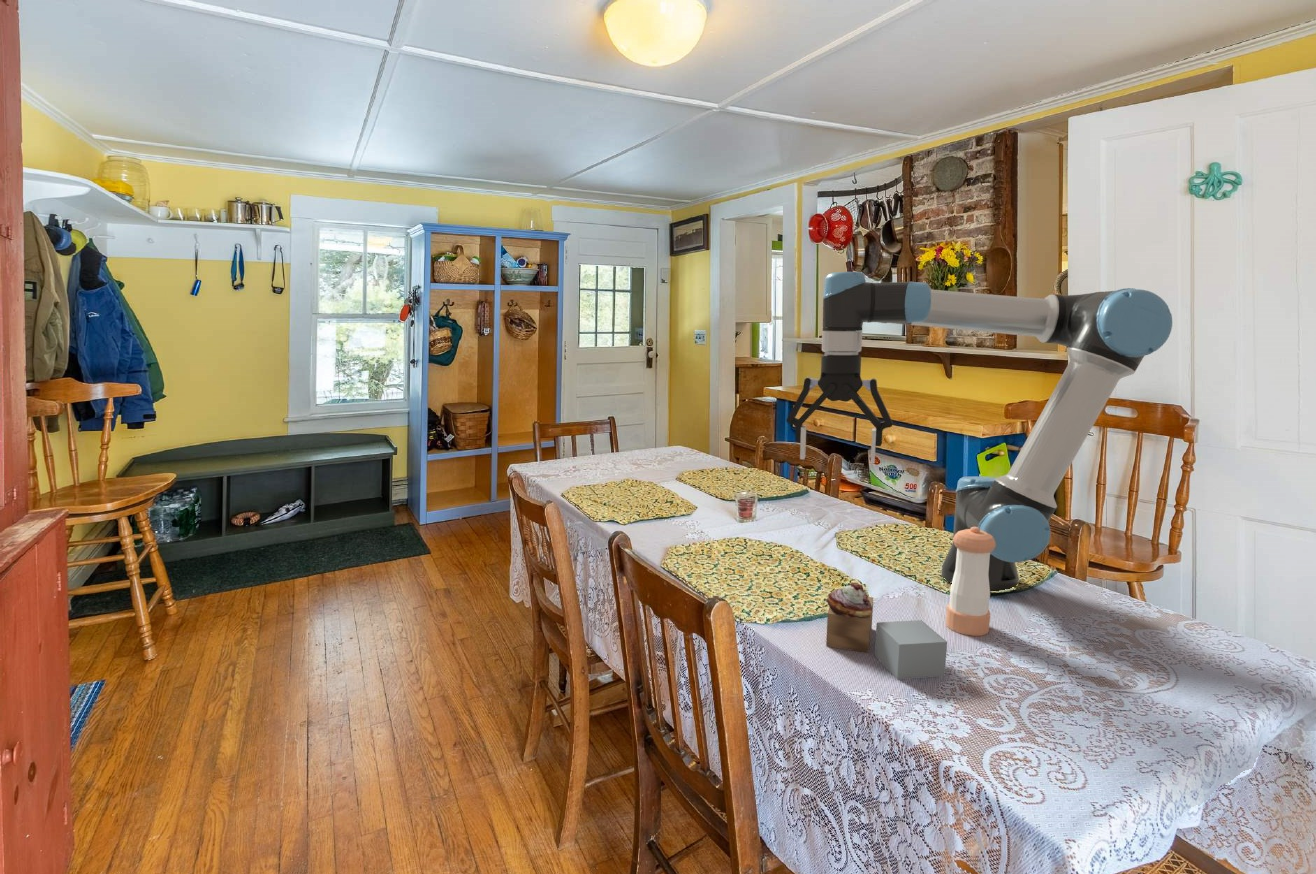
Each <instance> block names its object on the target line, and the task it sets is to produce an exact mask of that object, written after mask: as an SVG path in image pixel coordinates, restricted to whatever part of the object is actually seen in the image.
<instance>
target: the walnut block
mask: <svg viewBox="0 0 1316 874" xmlns="http://www.w3.org/2000/svg"><path fill="white" fill-rule="evenodd" d="M868 600H869V601H870V604H871V606H872V609H873V610H874V597H872V596H869V597H868ZM873 610H872V613H871V615H869V616H868V617H864V618H853V617H846V616H841V615H840V614H838V613H836V612H835V611H833V610H832V609H831V608H830V607H828V611H827V622H826V641H825V644H826V645H825V646H826V647H830V648H831V647H832V648H835V649H836V648H837V649H844V650H848V651H855V652H856V651H857V652H862V653H867V654H868V653H869V649H870V643H871V642H870V641H871V635H872V629H873V626H872V625H873V612H874V611H873Z"/></svg>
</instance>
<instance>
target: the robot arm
mask: <svg viewBox="0 0 1316 874" xmlns="http://www.w3.org/2000/svg"><path fill="white" fill-rule="evenodd" d="M865 276H866V275H865V274H864V272H862V271H838V272H835V271H834V272H831V273H828V275H826V277H824V285H823V295H822V296H823V297H822V331H821V351H822V352H823V353H824V354H822V356H821V359H820V360H821V362H820V364H821V365H820V366H821V367H820V377H819V379H818V378H811V377H810V376H808V377H806V378H805V379H804V380H803V388H802V390H801V392H800V394H799V395H798V397H797V399H796V401H795V403H794V405H793V407H792V409H791V410H790V412H789V414H788V416H787V418H786V419H785V421H786V422H787V423H788V424H791V425H793V426H794V427H795V429H794V431H795V433H794V434H795V435H794V437H795V438H794V440H795V442H796V443H800V446H799V447H800V448H799V452H800V453H799V460H805V459H806V451H807V450H806V449H807V425H803V424H804V423H805V422H806V421H807V420H808V419H809V418H810V417H811V415H813V414H814V413H815V411H816V410H817V409H818V408H819V407H820V406H821V405H822V403H824V401H825V400H826V399H827V400H829V401H830V402H837V401H840V402H845V403H846V402H849V401H851V400H852V401H853V402H854V404H855V405H856V406H857V407H858V408H859V409H860V411H861V412H862V413H863V414H864V416H865V417H866V418H867V419H868V420H869V422H870V423H871V424H872V425H873V426H874V428H872V429H871V446H870V464H875V463H876V448H877V447H881V446H882V444H883V431H884V430H885V429H888V428H891V427H893V420H892V418H891V416H890V413H889V412H888V409H887V408H886V404H885V403H884V400H883V398H882V397H881V394H880V392H879V390H878V381H877V379H876V378H874V377H873V378H871V379H862V378H861V371H862V370H861V369H862V368H861V367H862V356H861V355H860V354H859V353H861V352H862V347H863V346H862V345H863V343H862V342H863V326H864V325H863V324H864V323H880V324H898V325H910V326H911V325H912V326H918V327H919V326H921V327H931V328H941V329H942V328H943V329H952V330H953V329H954V330H965V331H973V332H981V333H982V332H983V333H995V334H1004V335H1005V334H1006V335H1012V336H1013V335H1015V336H1026V337H1036V338H1037V340H1038V341H1039V342H1040V343H1043V344H1044V343H1045V344H1055V345H1060V346H1064V347H1067V348H1066V353H1067V355H1068V358H1069V362H1068V364H1067V366H1066V368H1065V370H1064V371H1063V374H1062V375H1061V377H1060V379H1059V381H1058V382H1057V385H1056V386H1055V387H1054V389H1053V392H1052V393H1051V395H1050V396H1049V398H1048V400H1047V402H1046V404H1045V406H1044V408H1043V410H1042V411H1041V413H1040V415H1039V416H1038V419H1037V420H1036V422H1035V423H1034V426H1033V428H1032V429H1031V431H1030V433H1029V435H1028V436H1027V439H1026V440H1025V442H1024V444H1023V445H1022V447H1021V449H1020V451H1019V453H1018V455H1017V457H1016V458H1015V460H1014V461H1013V464H1012V465H1011V467H1010V469H1009V471H1008V473H1007V474H1004V475H1001V476H998V477H994V476H977V475H976V476H975V475H974V476H962V477H961V478H959V480H958V481H957V485H956V486H957V487H956V490H955V494H956V495H955V496H956V497H955V508H954V520H953V534H952V535H953V537H952V539H953V538H954V535H955V534H956V533H957V532H958V531H961V530H965V529H971V527H978V528H979V529H980V530H981V531H984V532H986V533H988V534H990V535H992V536H993V538H994V540H995V543H996V546H995V548H994V550H993V551H992V552H990V560H989V572H988V576H989V588H990V591H999V590H1005V589H1010V588H1012V587H1015V586H1016V585H1017V584H1018V585H1019V576H1020V575H1019V572H1018V568H1017V564H1016V563H1022V562H1026V561H1030V560H1033V559H1035V558H1036V557H1038V556H1039V555H1041V554H1042V553H1043V552H1044V551H1045V550H1046V548H1047V547H1048V545H1049V543H1050V540H1051V534H1052V532H1051V526H1050V523H1049V522H1050V519H1052V517H1053V515H1054V513H1055V511H1056V509H1057V507H1058V505H1057V502H1056V499H1055V497H1054V495H1055V493H1056V491H1057V489H1058V488H1059V485H1060V484H1061V482H1062V480H1063V479H1064V477H1065V475H1066V473H1067V472H1068V470H1069V468H1070V467H1071V465H1072V463H1073V461H1074V460H1075V457H1076V456H1077V454H1078V453H1079V451H1080V449H1081V447H1082V446H1083V443H1084V442H1085V441H1086V439H1087V436H1088V435H1089V434H1090V432H1091V429H1092V428H1093V426H1094V425H1095V423H1096V421H1097V420H1098V417H1099V416H1100V414H1101V412H1102V411H1103V409H1104V408H1105V406H1106V403H1107V402H1108V401H1109V398H1110V397H1111V395H1112V393H1113V391H1114V390H1115V389H1116V386H1117V385H1118V383H1119V381H1120V380H1122V379H1124V378H1125V377H1129V376H1131V375H1134V374H1135V373H1136V371H1137V369H1138V368H1139V366H1140V365H1141V362H1142V361H1143V359H1144V357H1146V356H1148V355H1150V354H1153V353H1154V352H1156V351H1158V350H1159V349H1161V347H1163V346H1164V345H1165V343H1166V342H1167V341H1168V340H1169V337H1170V336H1171V332H1172V329H1173V315H1172V313H1171V311H1170V308H1169V305H1168V304H1167V303H1166V301H1165V300H1164V299H1163V298H1162V297H1160V296H1159V295H1157V294H1156V293H1155V292H1152V291H1150V290H1145V289H1136V288H1129V287H1128V288H1120V289H1118V290H1109V291H1106V290H1105V291H1096V292H1091V293H1082V294H1067V295H1066V294H1065V295H1063V294H1052V293H1051V294H1049V295H1047V296H1046V297H1044V298H1039V297H1037V298H1036V297H1026V296H1025V297H1023V296H1014V295H1013V296H1012V295H999V294H988V293H976V292H964V291H953V290H951V291H950V290H943V289H942V290H940V289H931V287H930V285H929V284H928V283H927V282H924V281H923V282H922V281H921V282H919V281H917V282H915V281H902V282H901V281H899V282H898V281H897V282H896V281H895V282H866V277H865ZM816 386H818V387H819V389H820V391H821V392H822V394H820V396H818V397H817V398H816V400H815V401H814V402H813V403H812V404H811V405H810V406H809V407H808V408H807V410H805V411H804V413H802V415H801V416H800V417H799V418H797V415H798V414H799V411H800V410H801V408H802V405H803V404H804V402H805V401H806V398H807V396H808V395H809V392H810V391H811V390H813V389H814V388H815V387H816ZM862 387H865V389H866V390H867V391H870V393H871V396H872V399H873V400H874V403H875V404H876V407H877V409H878V410H879V413H880V415H881V418H882V420H883V421H880V419H879V418H878V417H877V415H875V413H874V411H872V410H871V408H870V407H869V406H868V405H867V403H866V402H865V401H864V399H862V397H861V396H860V394H859V393H858V392H859V391H860V390H861V388H862ZM956 557H957V547H956V546H955V545H954V542H953V541H952V543H951V546H950V548H949V550H948V552H947V554H946V557H945V559H944V561H943V563H942V567H941V577H942V576H943V577H944V578H945V579H946V580H947V581H948V582H951V583H952V580H953V576H954V572H955V568H956ZM947 581H946V582H947ZM948 582H947V583H948Z"/></svg>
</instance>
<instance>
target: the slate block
mask: <svg viewBox="0 0 1316 874" xmlns="http://www.w3.org/2000/svg"><path fill="white" fill-rule="evenodd" d="M875 627H876V630H875V643H874V644H875V645H874V646H875V647H874V656H875V657H876V658H877V659H878V661H880V663H881V664H882V665H883V666H884V667H885V668H886V669H887V670H888V672H890V674H892V676H893V677H894V678H895V679H896V680H907V679H908V680H909V679H923V678H935V677H936V678H937V677H945V676H946V675H945V672H946V663H947V662H946V660H947V651H948V650H947V648H948V641H947V640H945V638H943V637H942V636H941V635H940V634H939V633H938V632H936V631H935V629H933V628H932V627H930V626H929V625H928V624H927V623H926V622H924V620H922V619H920V620H919V619H917V620H899V621H883V622H882V621H879V622H876V626H875Z"/></svg>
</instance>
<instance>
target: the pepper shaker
mask: <svg viewBox="0 0 1316 874" xmlns="http://www.w3.org/2000/svg"><path fill="white" fill-rule="evenodd" d="M953 542H954V545H955V546H956V547H957V557H956V568H955V572H954V576H953V580H952V584H950V591H949V593H950V594H949V603H948V604H947V606H946V617H945V618H946V619H945V625H946V626H947V628H948V629H950V630H952V631H953V632H956V633H958V634H961V635H966V636H972V637H973V636H975V637H976V636H984V635H986V634H988V633H989V632H990V621H991V612H990V610H989V609H990V608H989V606H990V599H991V593H990V588H989V576H988V572H989V560H990V552H992V551H993V550H994V548H995V546H996V543H995V540H994V538H993V536H992V535H990V534H988V533H986V532H984V531H981V530H980V529H979V528H978V527H971V529H965V530H961V531H958V532H957V533H956V534H955V535H954V538H953V537H952V543H953Z"/></svg>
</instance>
